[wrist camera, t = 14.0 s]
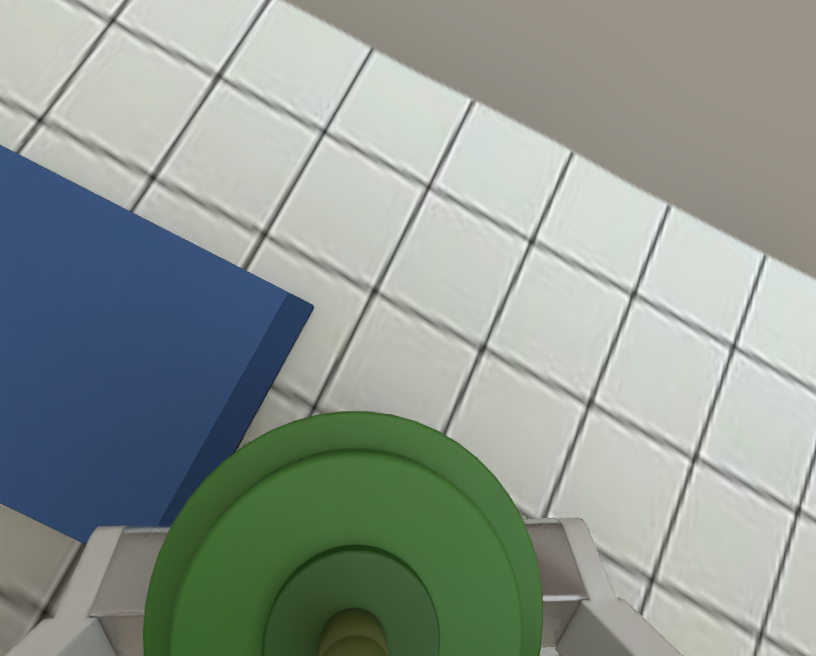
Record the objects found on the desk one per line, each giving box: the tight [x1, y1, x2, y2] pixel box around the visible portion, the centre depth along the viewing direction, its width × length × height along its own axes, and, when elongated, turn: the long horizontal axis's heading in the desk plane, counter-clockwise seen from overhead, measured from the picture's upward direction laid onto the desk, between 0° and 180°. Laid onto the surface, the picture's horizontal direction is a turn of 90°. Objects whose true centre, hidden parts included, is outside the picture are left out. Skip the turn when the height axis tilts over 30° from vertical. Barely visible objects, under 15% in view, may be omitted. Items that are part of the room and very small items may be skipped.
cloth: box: [0, 145, 314, 544], centre depth 21 cm, size 20×12×1 cm, turn 64°
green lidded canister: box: [143, 411, 543, 656], centre depth 10 cm, size 6×6×9 cm
